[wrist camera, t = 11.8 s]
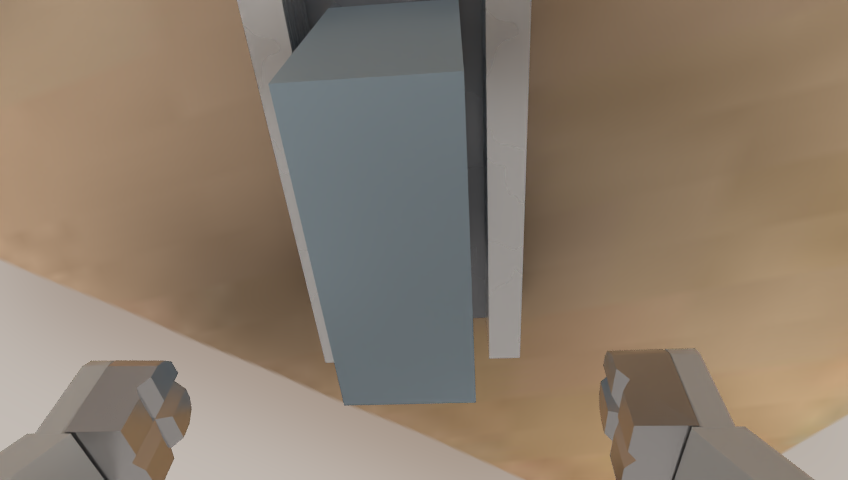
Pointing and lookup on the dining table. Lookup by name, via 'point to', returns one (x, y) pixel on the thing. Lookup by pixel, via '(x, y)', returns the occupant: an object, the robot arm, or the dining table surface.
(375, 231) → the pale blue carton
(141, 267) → the dining table surface
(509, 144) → the door track
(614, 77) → the dining table surface
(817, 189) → the dining table surface
